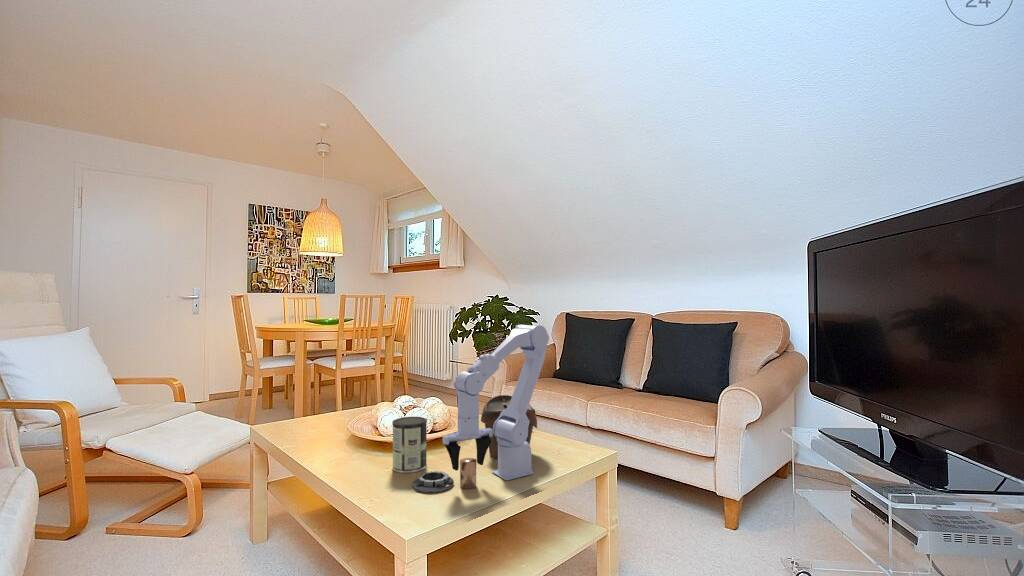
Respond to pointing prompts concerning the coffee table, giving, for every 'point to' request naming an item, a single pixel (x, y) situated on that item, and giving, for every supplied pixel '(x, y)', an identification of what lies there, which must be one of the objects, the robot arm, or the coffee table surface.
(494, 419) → the brown trash bin
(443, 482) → the flange
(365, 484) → the coffee table surface
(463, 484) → the pipe stub
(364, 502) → the coffee table surface
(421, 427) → the coffee can
